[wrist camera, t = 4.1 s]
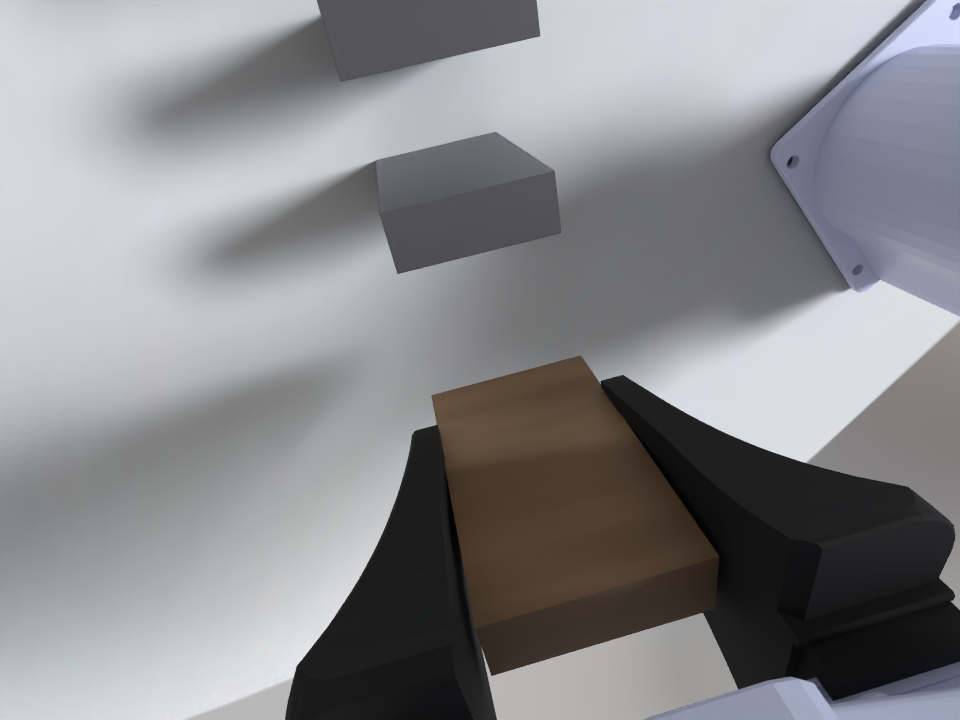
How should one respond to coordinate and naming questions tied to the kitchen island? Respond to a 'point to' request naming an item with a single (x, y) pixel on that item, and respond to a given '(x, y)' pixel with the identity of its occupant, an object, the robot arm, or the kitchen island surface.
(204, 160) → the kitchen island surface
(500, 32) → the domino
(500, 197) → the domino
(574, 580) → the domino
